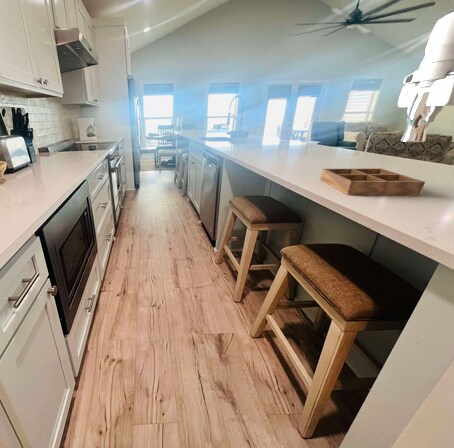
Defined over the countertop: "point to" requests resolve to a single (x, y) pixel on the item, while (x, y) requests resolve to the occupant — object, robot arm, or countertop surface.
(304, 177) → the countertop surface
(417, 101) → the beer glass
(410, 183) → the wooden compartment tray
